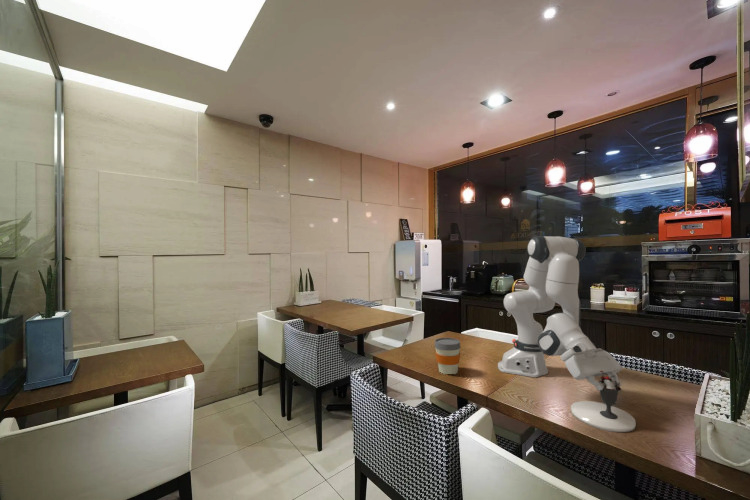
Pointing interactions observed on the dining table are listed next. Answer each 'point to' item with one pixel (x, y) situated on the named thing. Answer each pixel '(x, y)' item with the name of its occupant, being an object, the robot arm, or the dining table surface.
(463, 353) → the dining table surface
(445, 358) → the reusable coffee cup
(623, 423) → the serving plate
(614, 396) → the sundae
